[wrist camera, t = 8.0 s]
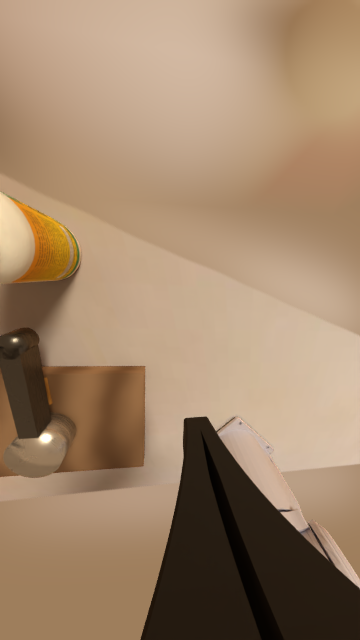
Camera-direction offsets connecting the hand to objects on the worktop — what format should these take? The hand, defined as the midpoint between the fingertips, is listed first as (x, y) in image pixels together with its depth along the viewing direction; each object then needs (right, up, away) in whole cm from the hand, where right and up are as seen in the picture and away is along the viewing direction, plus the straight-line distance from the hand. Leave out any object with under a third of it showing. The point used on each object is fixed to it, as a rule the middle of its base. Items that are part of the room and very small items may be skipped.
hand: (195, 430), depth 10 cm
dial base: (-15, -5, +11) cm, 19 cm away
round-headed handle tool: (-15, -1, +8) cm, 17 cm away
